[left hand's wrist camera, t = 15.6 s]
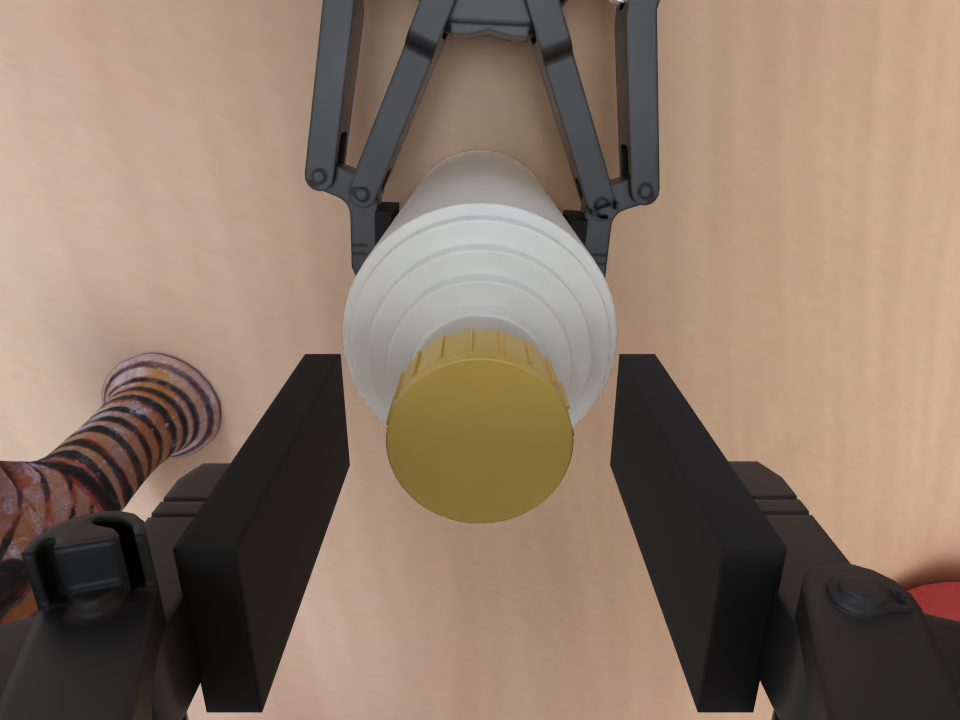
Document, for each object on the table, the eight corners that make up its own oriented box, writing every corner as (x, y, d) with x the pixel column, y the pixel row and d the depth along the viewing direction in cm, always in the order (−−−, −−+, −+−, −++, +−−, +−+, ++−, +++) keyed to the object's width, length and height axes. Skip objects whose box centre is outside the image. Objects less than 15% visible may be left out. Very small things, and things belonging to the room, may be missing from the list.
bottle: (562, 160, 35) (713, 275, 12) (538, 300, 38) (624, 602, 15) (416, 139, 34) (295, 220, 12) (402, 282, 37) (285, 565, 15)
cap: (411, 308, 14) (403, 335, 12) (587, 347, 14) (601, 379, 13) (379, 462, 15) (368, 505, 14) (540, 495, 15) (547, 540, 14)
